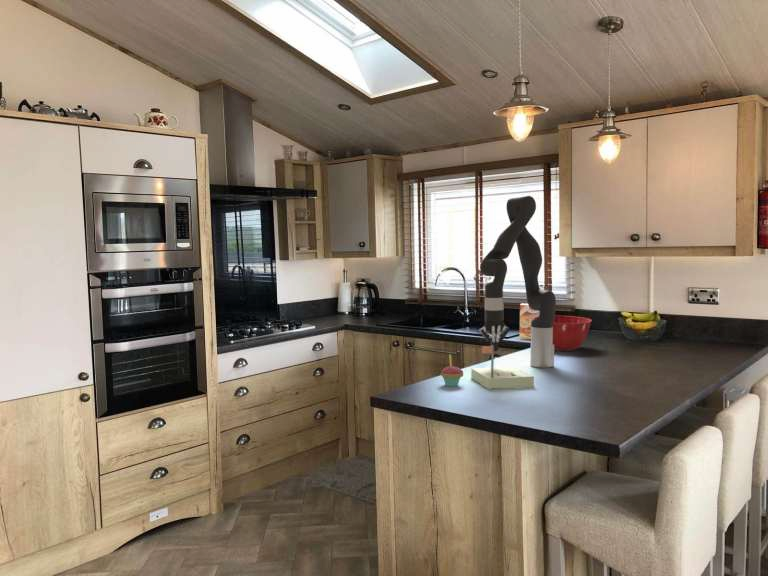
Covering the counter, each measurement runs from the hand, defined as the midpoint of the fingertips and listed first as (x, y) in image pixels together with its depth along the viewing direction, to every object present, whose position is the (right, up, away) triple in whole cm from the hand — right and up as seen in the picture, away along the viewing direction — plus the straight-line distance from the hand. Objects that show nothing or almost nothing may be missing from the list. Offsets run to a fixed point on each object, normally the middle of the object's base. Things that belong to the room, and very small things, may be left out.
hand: (494, 351), depth 252 cm
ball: (+1, -9, -14) cm, 17 cm away
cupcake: (-19, -12, -15) cm, 27 cm away
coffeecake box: (+39, -3, +98) cm, 106 cm away
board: (+1, -11, -11) cm, 15 cm away
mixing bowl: (+45, -6, +65) cm, 80 cm away
